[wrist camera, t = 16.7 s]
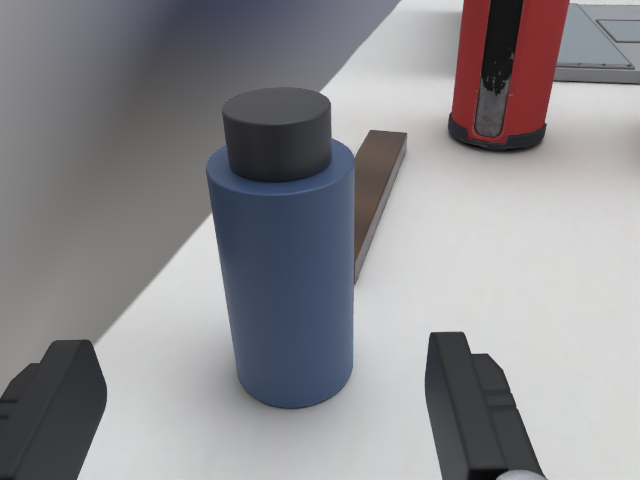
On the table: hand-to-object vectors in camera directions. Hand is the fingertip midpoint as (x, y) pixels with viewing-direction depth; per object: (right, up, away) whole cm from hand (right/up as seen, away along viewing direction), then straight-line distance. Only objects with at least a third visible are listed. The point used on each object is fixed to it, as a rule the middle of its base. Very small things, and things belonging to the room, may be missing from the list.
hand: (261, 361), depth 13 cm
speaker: (+16, +12, +33) cm, 38 cm away
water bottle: (0, -3, +12) cm, 12 cm away
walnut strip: (+4, +5, +24) cm, 25 cm away
